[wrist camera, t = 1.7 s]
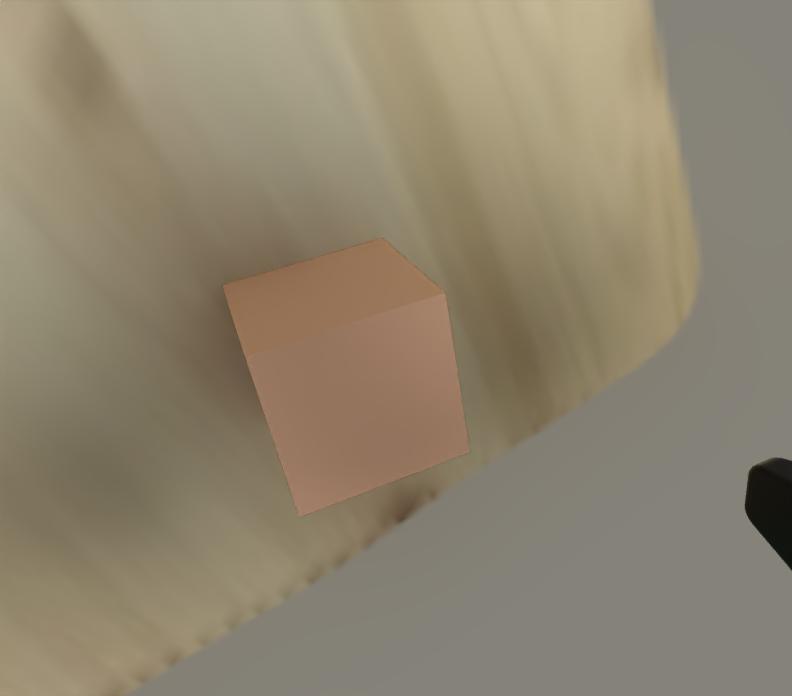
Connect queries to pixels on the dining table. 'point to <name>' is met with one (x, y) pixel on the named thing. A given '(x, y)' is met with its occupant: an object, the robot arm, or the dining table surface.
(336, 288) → the terracotta block
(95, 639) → the dining table surface
